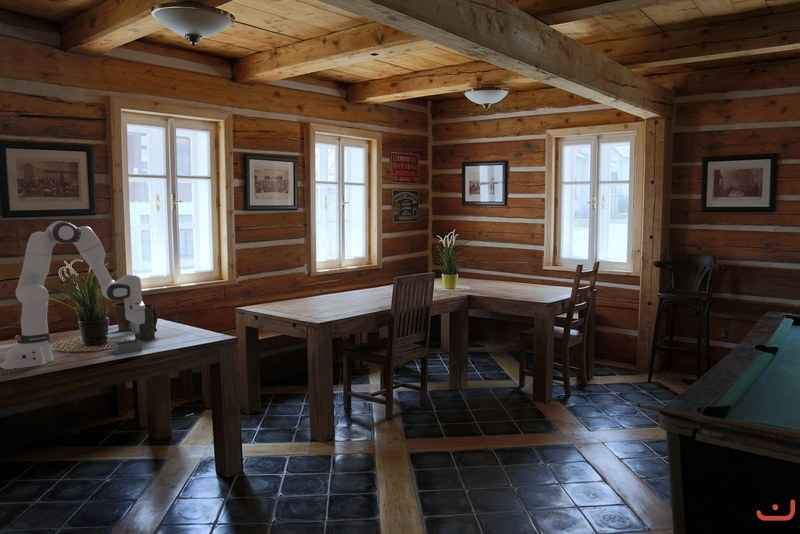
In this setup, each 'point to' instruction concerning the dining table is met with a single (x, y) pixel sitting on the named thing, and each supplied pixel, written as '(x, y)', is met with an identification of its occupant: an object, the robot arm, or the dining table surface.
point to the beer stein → (148, 325)
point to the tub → (127, 346)
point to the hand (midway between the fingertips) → (135, 330)
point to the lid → (124, 333)
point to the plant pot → (122, 317)
